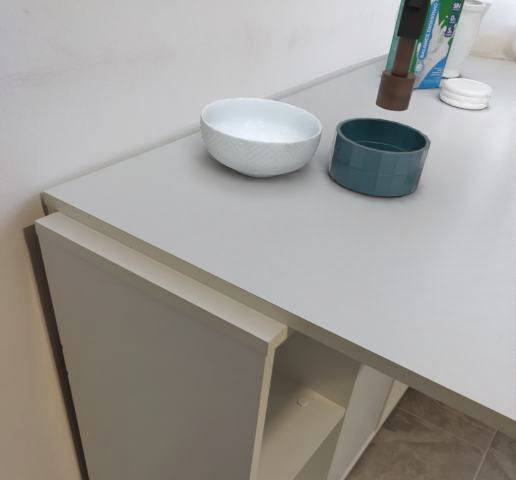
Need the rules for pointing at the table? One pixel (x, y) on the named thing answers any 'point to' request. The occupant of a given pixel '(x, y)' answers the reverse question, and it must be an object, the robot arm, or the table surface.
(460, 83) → the coaster
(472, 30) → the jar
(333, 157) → the bowl
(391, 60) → the milk carton
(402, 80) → the pestle
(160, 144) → the table surface
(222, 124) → the cereal bowl
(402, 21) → the robot arm
